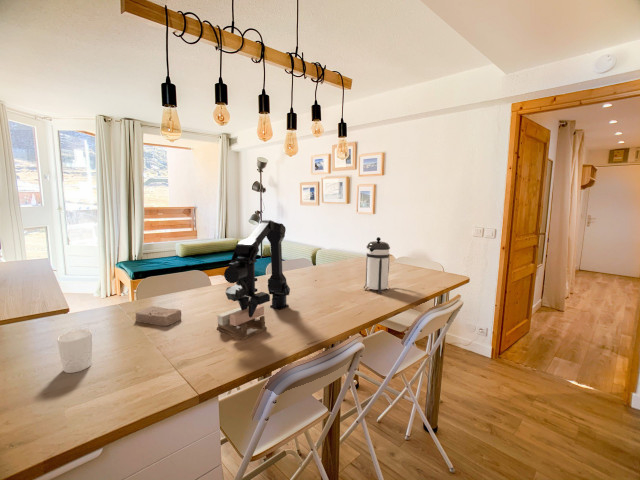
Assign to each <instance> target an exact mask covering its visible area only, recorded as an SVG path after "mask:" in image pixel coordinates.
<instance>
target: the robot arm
mask: <svg viewBox="0 0 640 480" xmlns="http://www.w3.org/2000/svg"><path fill="white" fill-rule="evenodd" d="M285 234H286V226H285V225H284V224H283V223H279V222H275V221H273V220H270V219H269V220H268V219H263V220H260V222H259V225H258V226H257V227H256V228H255V229H254V230H253V232H252V233H251V234H250V235H249V236H248V237H247V238H245V239H242V240H240V241H239V242H238V243H237V244H236V245H235V247H234V251H233V252H232V253H233V254H232V255H231V258H230V263H228V266H227V268H225V270H224V272H223V277H224V279H225V281H226V282H228V283H230V284H234V283H235V284H234V285H232V286H228V287H227V288H226V290H225V296H226V297H227V300H230V301H232V302H237V303H238V305H239V307H241V310H244V309H247V308H248V310H249V317H250V318H251V317H252V316H253V314H254V312H255V310H256V307H257V306H258V305H262V304H265V303H268V302H270V301H271V305H269V308H272V309H276V310H280V311H281V310H283V309H285V308H288V307H289V306H290V305H289V304H288V303H287V296H290V293H291V288H290V286H289V284H288V282H287V277H286V276H285V274H284V272H283V256H282V255H283V253H282V252H283V251H282V242H283V240H284V239H285ZM265 238H266V239H267V241H268V243H269V244H270V261H271V262H270V263H271V264H270V265H271V267H270V268H271V275H270V277H269V278H268V279H267V290H268V292H264V291H261V292H258V288H256V282H258V278H257V277H256V274H255V273H256V271H255V270H256V267H255V266H256V264H255V263H257V262H258V260H257V259H256V258H257V256H258V253H259V251H260V249H259V247H260V245H261V244H262V242H263V241H264V240H265ZM271 295H272V296H271ZM271 297H272V298H271Z"/></svg>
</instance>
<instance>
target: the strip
mask: <svg viewBox="0 0 640 480" xmlns="http://www.w3.org/2000/svg"><path fill="white" fill-rule="evenodd" d="M239 311H242V310H241V307H240V306H239V307H237V308H234V309H230V310H227V311H224V312H221V313H219V314H217V315H216V316H217V325H218V324H220V325H222V326H223V325H226V324H228V320H229V319H230V315H231V314H233V313H236V312H239Z"/></svg>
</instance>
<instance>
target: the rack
mask: <svg viewBox="0 0 640 480" xmlns="http://www.w3.org/2000/svg"><path fill="white" fill-rule="evenodd" d="M216 330H217V331H221V333H224V334H227V335H230V336H232V337H234V338H236V339H239V340H240V341H244V340H245V339H248V338H251V337H252V336H255V335H256V334H258V333H261V332H263V331H265V330H267V326H266V321H265V316H264V315H261V316H259V318H254V319H252V320H249V321H247V322H244V323H242V324H239V325H237V326H234V325H231V324H230V319H229V320H228V324H226V325H223V326H222V325H220V324H218V323H217V327H216Z"/></svg>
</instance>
